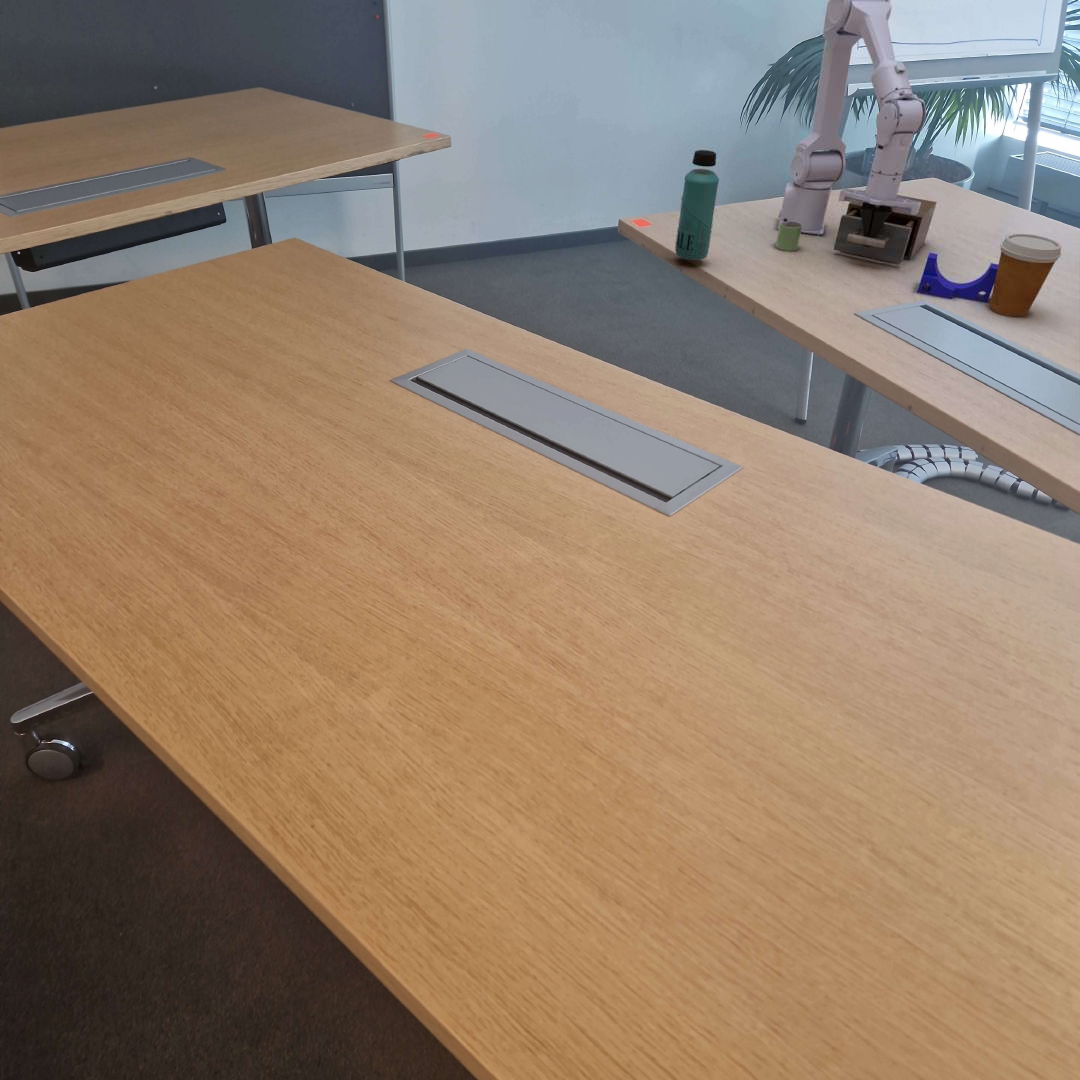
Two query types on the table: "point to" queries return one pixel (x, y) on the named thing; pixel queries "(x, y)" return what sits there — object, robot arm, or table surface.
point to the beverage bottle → (697, 208)
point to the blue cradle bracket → (949, 289)
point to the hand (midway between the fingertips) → (867, 245)
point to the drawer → (885, 245)
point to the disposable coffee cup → (1022, 272)
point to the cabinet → (922, 216)
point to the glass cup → (788, 236)
